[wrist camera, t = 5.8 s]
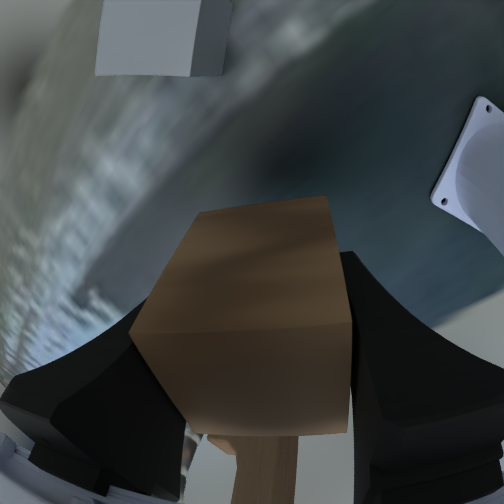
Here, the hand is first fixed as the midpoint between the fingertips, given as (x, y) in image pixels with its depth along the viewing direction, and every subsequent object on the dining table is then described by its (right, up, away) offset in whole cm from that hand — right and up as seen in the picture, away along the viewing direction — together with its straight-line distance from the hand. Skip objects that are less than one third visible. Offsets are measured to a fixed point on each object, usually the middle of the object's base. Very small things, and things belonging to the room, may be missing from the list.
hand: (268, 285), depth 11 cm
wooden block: (0, -17, +22) cm, 28 cm away
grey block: (-4, +13, +4) cm, 15 cm away
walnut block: (0, +1, +1) cm, 2 cm away
